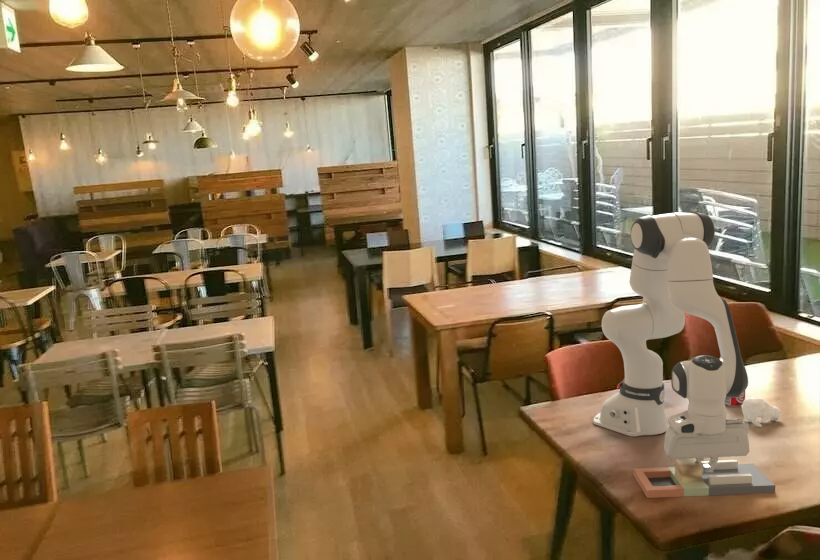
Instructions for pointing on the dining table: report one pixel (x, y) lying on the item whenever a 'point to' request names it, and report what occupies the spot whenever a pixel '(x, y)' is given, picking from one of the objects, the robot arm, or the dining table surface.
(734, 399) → the soda can
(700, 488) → the pad
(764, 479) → the board
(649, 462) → the dining table surface
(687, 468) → the birch block
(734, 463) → the channel walls
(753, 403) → the white lumpy figurine
